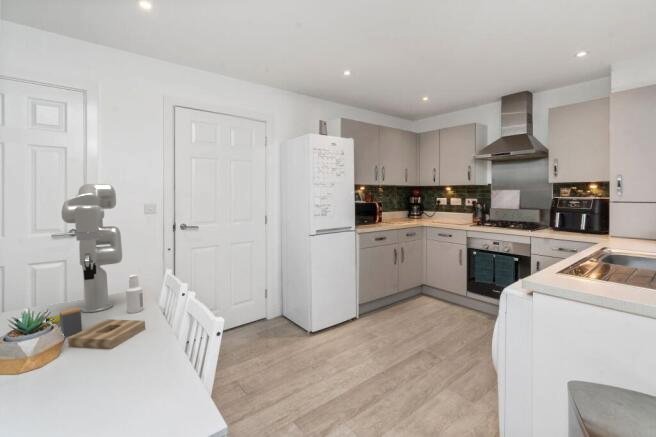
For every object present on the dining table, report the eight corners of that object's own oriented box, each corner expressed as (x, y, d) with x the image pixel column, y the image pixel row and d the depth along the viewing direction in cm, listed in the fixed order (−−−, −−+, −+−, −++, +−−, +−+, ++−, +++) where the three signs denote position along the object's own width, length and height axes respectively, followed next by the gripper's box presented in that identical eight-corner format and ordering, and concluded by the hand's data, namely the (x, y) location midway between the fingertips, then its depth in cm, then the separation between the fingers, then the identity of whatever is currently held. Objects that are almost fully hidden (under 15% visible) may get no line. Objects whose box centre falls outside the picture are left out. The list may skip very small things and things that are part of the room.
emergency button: (22, 319, 137) (67, 311, 146) (23, 328, 137) (67, 320, 146) (18, 325, 130) (65, 317, 139) (19, 336, 130) (66, 326, 139)
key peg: (61, 334, 130) (59, 311, 129) (79, 329, 134) (77, 307, 134) (64, 337, 127) (62, 313, 126) (82, 332, 132) (80, 309, 131)
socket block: (68, 346, 119) (67, 337, 119) (107, 327, 137) (107, 319, 137) (111, 348, 117) (110, 339, 117) (145, 328, 135) (144, 320, 134)
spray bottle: (146, 309, 158) (144, 274, 157) (134, 314, 152) (132, 277, 151) (136, 307, 161) (134, 273, 159) (123, 312, 154) (121, 276, 153)
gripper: (79, 234, 134) (81, 273, 135) (73, 239, 119) (76, 283, 121) (100, 233, 138) (103, 271, 139) (97, 237, 123) (100, 280, 125)
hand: (90, 276), depth 130 cm, fingers open, 9 cm apart
